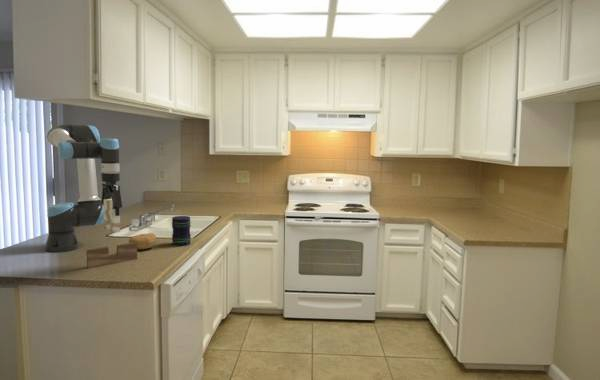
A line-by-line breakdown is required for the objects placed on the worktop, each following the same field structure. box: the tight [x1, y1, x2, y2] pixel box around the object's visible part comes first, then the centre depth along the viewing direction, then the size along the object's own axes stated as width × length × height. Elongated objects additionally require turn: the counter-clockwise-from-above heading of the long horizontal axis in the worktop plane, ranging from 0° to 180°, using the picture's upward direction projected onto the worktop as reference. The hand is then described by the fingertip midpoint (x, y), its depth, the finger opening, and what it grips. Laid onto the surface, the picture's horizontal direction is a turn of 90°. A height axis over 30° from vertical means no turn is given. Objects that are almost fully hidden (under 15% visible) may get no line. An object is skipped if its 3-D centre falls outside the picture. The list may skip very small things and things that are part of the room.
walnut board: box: [85, 242, 138, 269], centre depth 189 cm, size 2×22×8 cm, turn 136°
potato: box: [128, 232, 157, 251], centre depth 213 cm, size 10×14×8 cm
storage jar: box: [171, 215, 192, 247], centre depth 225 cm, size 10×10×15 cm
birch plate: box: [103, 198, 121, 233], centre depth 186 cm, size 10×3×14 cm, turn 46°
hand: (111, 221), depth 187 cm, fingers closed on birch plate, 10 cm apart
